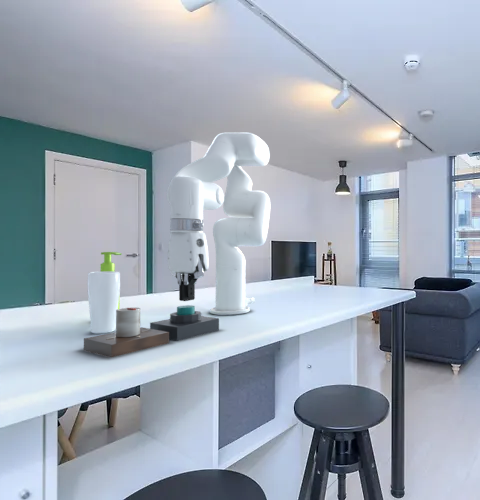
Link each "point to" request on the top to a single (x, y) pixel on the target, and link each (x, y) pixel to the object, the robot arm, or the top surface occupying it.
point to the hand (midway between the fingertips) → (187, 300)
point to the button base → (186, 325)
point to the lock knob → (127, 322)
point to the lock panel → (125, 342)
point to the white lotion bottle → (103, 300)
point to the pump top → (185, 310)
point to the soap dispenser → (109, 264)
